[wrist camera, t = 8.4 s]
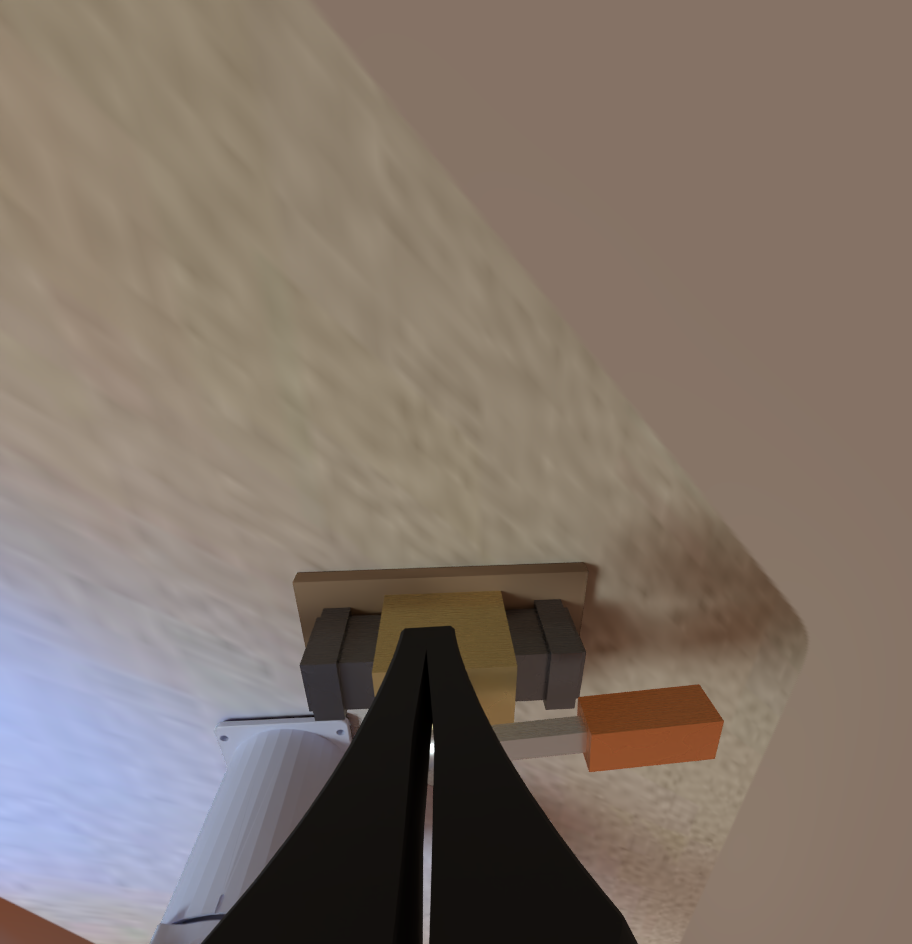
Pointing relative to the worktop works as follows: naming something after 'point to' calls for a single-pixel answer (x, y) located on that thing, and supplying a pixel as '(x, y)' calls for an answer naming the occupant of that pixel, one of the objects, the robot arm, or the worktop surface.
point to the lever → (620, 730)
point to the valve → (480, 644)
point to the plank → (439, 587)
